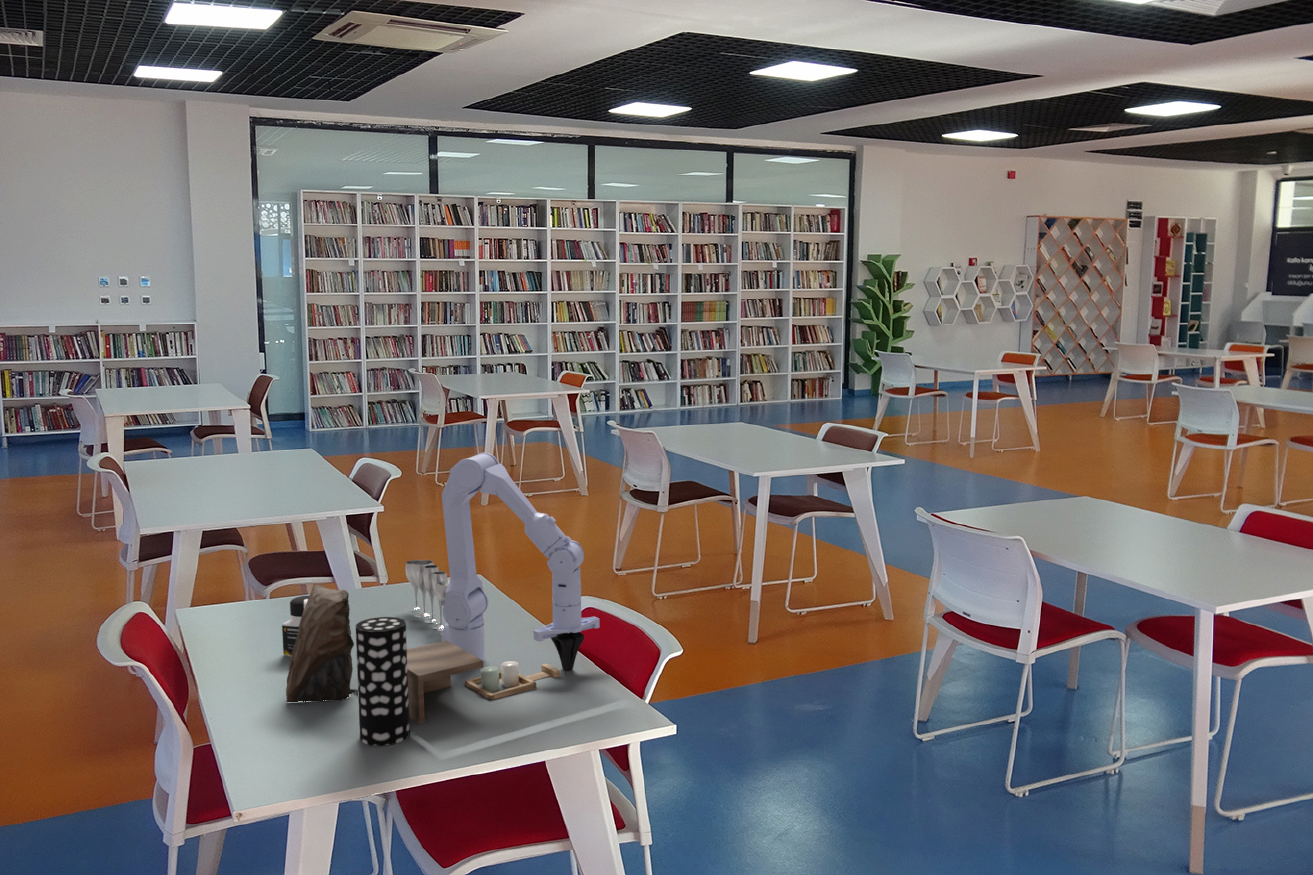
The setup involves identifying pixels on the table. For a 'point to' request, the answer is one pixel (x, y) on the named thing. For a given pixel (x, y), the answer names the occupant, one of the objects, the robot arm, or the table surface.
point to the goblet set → (428, 584)
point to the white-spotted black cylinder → (382, 680)
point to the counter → (434, 671)
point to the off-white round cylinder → (510, 673)
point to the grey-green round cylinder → (490, 678)
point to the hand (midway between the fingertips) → (567, 668)
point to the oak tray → (524, 685)
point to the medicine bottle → (293, 624)
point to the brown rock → (322, 649)
